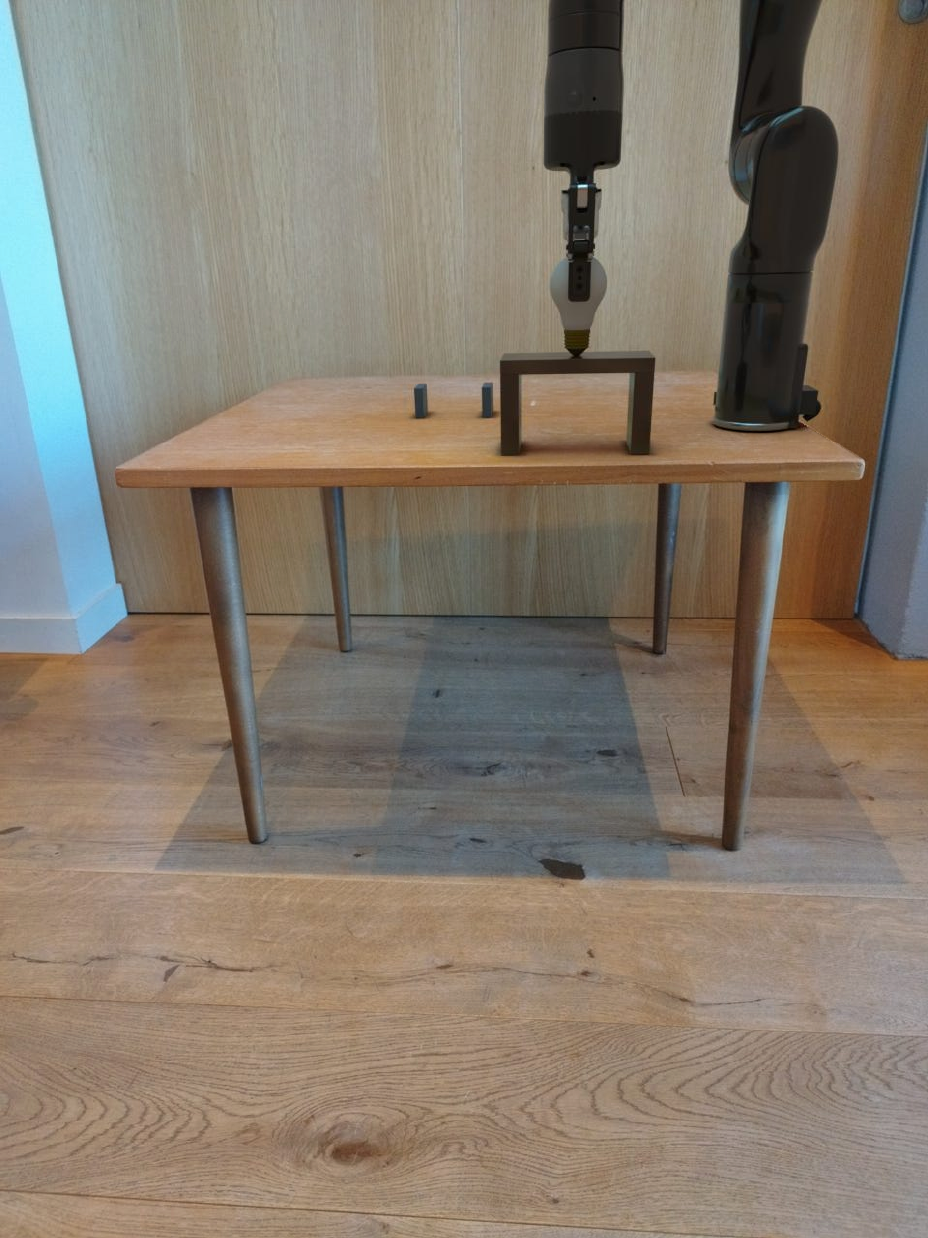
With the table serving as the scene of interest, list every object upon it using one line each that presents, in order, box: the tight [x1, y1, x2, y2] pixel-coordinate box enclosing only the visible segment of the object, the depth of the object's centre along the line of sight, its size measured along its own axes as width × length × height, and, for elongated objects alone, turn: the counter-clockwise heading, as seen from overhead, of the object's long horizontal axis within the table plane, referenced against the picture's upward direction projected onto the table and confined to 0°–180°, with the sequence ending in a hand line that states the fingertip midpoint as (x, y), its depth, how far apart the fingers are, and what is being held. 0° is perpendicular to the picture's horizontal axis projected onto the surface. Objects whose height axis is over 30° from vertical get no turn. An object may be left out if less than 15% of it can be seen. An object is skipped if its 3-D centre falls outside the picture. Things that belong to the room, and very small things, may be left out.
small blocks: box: [413, 382, 494, 419], centre depth 112 cm, size 10×4×4 cm, turn 84°
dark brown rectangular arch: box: [499, 350, 656, 456], centre depth 90 cm, size 16×6×10 cm, turn 84°
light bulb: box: [549, 256, 608, 356], centre depth 86 cm, size 6×6×10 cm
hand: (578, 299), depth 85 cm, fingers closed on light bulb, 6 cm apart
